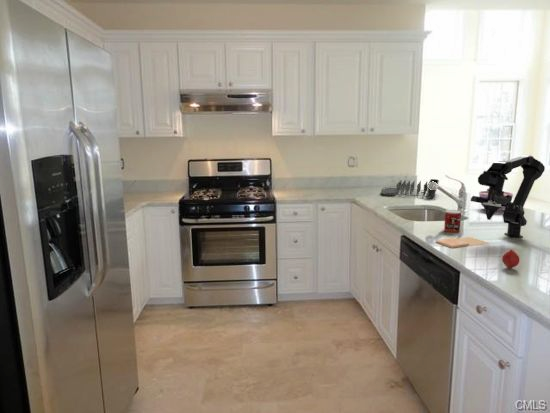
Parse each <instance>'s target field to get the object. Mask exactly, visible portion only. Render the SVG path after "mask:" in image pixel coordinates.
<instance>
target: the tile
mask: <svg viewBox="0 0 550 413" xmlns="http://www.w3.org/2000/svg"><path fill="white" fill-rule="evenodd" d="M457 239H458V238H453V237H452V238H450V237H449V238H444V239H437V240H435V243H437V244H439V245H441V246H445V247H448V248H451V249H456V248H462V247H469V243H466V242H463V241H460V240H457Z"/></svg>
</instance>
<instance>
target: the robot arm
mask: <svg viewBox="0 0 550 413" xmlns="http://www.w3.org/2000/svg"><path fill="white" fill-rule="evenodd" d="M519 167H521V168H522V174H523V178H522V181H521V183H520V185H519V187H518V190H517V191H516V192H517V193H516V194H515V197H514V199H513V197H512V196H511V195H507V196H505V195H504V192H505V190H504V187H505V186H504V185H505V181H508V180H509V178H508V176H506V175H508V174H510V173H511V172H512V170H513V169H516V168H519ZM545 170H546V168H545V165H544V164H543V163H542V162H541V161H540V160H538V159H536V158H535V157H534V156H533V155H528V154H522V155H520V156H518V157H514V158H511V159H508V160H500V161H499V160H498V161H493V163H492V164H491V165H490V166H489V168H488V169H487V170H483V172H482V173H480V175H479V176H478V177H477V183H478V184H479V185H480V186H484V187H488V188H487V189H486V191H488V195H487V197H485V198H483V197H480V196H476V195H472V197H470V202H474V203H480V204H481V203H483V204H482V205H483V206H484V207H483V206H482V205H481V206H482V207H483V208H484V211H485V215H486V219H487V221H490V220H491V219H492V218H493V216H494V215H495V213H497V212H498V211H497V210H498V209H500V208H502V207H501V206H503V207H506V208H505V209H504V210H502V212H503V213H502V219H503V223H504V224H507V229H506V230H507V231H506V232H504V235H505V236H507V237H509V238H524V236H523V235H522V234H521V231H522V227H525V226H526V225H527V223H528V220H527V219H526V217H525V216H524V215H525V208H524V206H525V205H526V201H527V199H528V198H529V196H530V195H529V194H530V192H531V191H532V188H533V186H534V184H535V182H536V181H537V180H538V179H539V178H541V176H542V175H543V173H544V172H545ZM489 200H490V201H489ZM491 200H492V201H491ZM512 200H513V201H512ZM494 201H495V202H494Z"/></svg>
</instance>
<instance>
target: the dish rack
mask: <svg viewBox="0 0 550 413" xmlns="http://www.w3.org/2000/svg"><path fill="white" fill-rule="evenodd" d="M406 180H407V179H405V180H404V181H398V182H397V183H396V185H393V186H392V185H389V187H386V186H385V187H382V188H381V189H380V191H381V192H380V193H381V194H382V195H385V196H386V197H392V196H407V197H408V196H409V197H416V198H417V199H419V197H421V199H423V197H425V198H426V197H427V198H434V197H435V195H436V192H437V189H436V190H430V189H429V188H428V185H429V183H430V182H432V181H434V182H436V183H437V184H438V185H439V183H440V180H439V179H433V178H432V179H430V180H429V182H428V181H425V184H424V185H423V189H421V186H422V185H421V182H422V180H420V181H419V182H418V183H417V185H416V190H415V180H413V181H412V182H411V180H408V181H407V182H406Z"/></svg>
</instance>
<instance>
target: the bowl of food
mask: <svg viewBox="0 0 550 413" xmlns="http://www.w3.org/2000/svg"><path fill="white" fill-rule="evenodd" d="M478 195H479V196H478V197H483V198H485V197H487V195H488V191H487V190H480V191H479V192H478ZM504 195H505V196H507V195H511V196H512V198H513V197H514V194H513V193H512V192H510V191H509V192H507V191H504ZM489 201H490V200H489ZM491 201H492V200H491ZM494 202H495V201H494ZM480 204H481V207H483V208H484V206H483V205H482V204H483V203H480ZM501 207H502V208H500V209H498V210H497V211H496V212H501V211H504V210H505V208H506V207H503V206H501Z"/></svg>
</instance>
